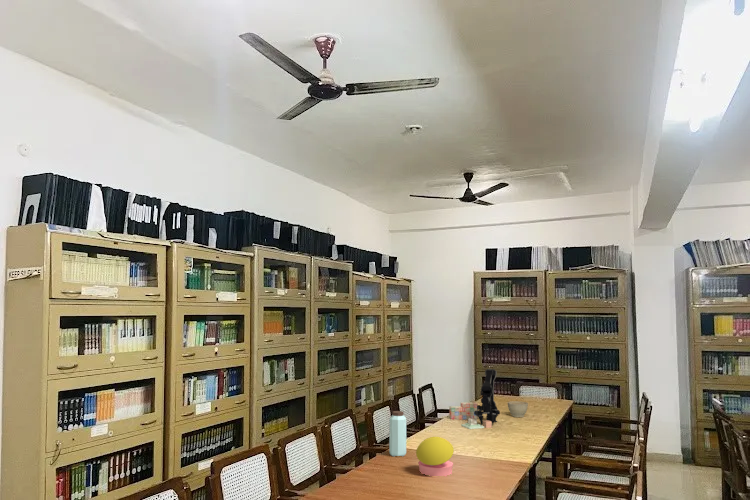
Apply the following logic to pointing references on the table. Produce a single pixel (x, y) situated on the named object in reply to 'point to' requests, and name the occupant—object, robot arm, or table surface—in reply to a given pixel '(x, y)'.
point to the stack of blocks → (463, 411)
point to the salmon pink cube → (487, 424)
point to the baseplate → (472, 426)
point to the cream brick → (472, 421)
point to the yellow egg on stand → (435, 456)
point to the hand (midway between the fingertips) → (487, 424)
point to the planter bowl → (517, 408)
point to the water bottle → (397, 434)
